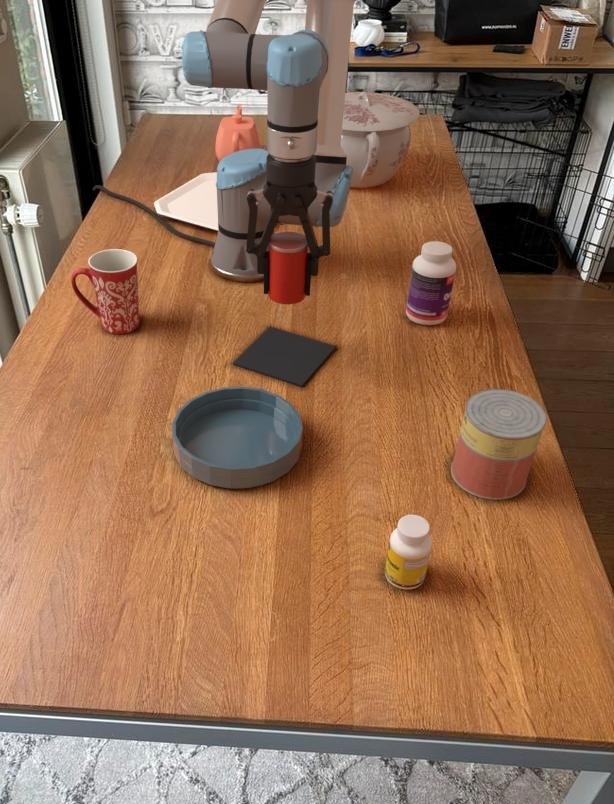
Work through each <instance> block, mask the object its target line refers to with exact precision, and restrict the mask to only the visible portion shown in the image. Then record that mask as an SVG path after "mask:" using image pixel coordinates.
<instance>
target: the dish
mask: <svg viewBox="0 0 614 804" xmlns="http://www.w3.org/2000/svg"><path fill="white" fill-rule="evenodd" d="M171 434H172V435H171V436H172V437H171V438H172V447H173V456H174V457H175V459H176V461H177V463H178V465H179V466H180V468H181V469H183V471H185V472H186V473H187V474H188V475H190V476H191V477H192V478H193V479H195V480H197V481H200V482H202V483H205V484H207V485H210V486H213V487H218V488H223V489H230V490H231V489H232V490H233V489H234V490H241V489H242V490H243V489H250V488H256V487H261V486H264V485H266V484H270V483H272V482H275V481H276V480H278V479H279V478H281V477H283V476H284V475H287V473H289V472H290V471H291V469H292V468H293V467H294V466H295V465H296V464H297V463H298V461H299V459H300V455H301V452H302V450H303V449H302V448H303V437H304V435H303V434H304V427H303V421H302V417H301V414H300V413H299V412H298V411H297V409H296V408H295V406H294V405H293V404H292V403H291V402H289V401H288V400H287V399H285V398H283V397H282V396H280V395H279V394H277V393H274V392H271V391H268V390H265V389H263V388H257V387H249V386H243V385H242V386H226V387H219V388H215V389H212V390H207V391H205V392H203V393H200V394H197V395H196V396H194V397H192V398H190V399H189V400H187V401H186V402H185V403H184V404H183V405H182V406H181V407H180V408H179V409H178V410H177V412H176V414H175V415H174V417H173V420H172V422H171Z"/></svg>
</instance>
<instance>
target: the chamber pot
mask: <svg viewBox="0 0 614 804" xmlns="http://www.w3.org/2000/svg"><path fill="white" fill-rule="evenodd" d="M420 116H421V113H420V109H419V108H418V107H417V106H416V105H415V104H414V103H412V102H410V101H408V100H407V99H404V98H401V97H399V96H394V95H391V94H386V93H379V92H372V91H351V92H350V91H349V92H345V102H344V112H343V123H342V133H341V144H340V146H341V148H342V150H343V151H344V152H345V154H346V155H347V162H346V166H347V165H350V166H351V167H352V168H353V175H352V179H351V185H350V188H353V189H366V188H373V187H377V186H381V185H383V184H385V183H388V182H389V181H391V179H392V178H393V177H394V175H395V174H396V173H397V171H398V170H399V169H400V167H401V166H402V165H403V163H404V162H405V160H406V158H407V155H408V153H409V149H410V147H411V140H412V132H411V127H410V125H412V124H414V123H416V122H417V120H418V119H419V118H420Z"/></svg>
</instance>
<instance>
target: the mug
mask: <svg viewBox="0 0 614 804" xmlns="http://www.w3.org/2000/svg"><path fill="white" fill-rule="evenodd" d="M138 259H139V258H138V256H137V254H135V253H134V252H132V251H130V250H127V249H121V248H109V249H104V250H100V251H97V252H95V253H93V254H92V255H91V256H90V257H89V258H88V261H87V263H88V266H89V268H88V267H78V268H76V269H74V270H73V272H72V273H71V276H70V277H71V278H70V281H71V288H72V290H73V292H74V294H75V295H76V298H77V299H79V301H80V302H81V303H82V304H83V305H84V306H85V307H86V308H87V309H88V310H90V312H92V313H93V314H94V315H95V316H96V317H98V318H99V319H100V323H101V327H102V329H103V330H104V331H105V332H108V333H110V334H114V335H123V334H128V333H131V332H134V331H135V330H136V329H138V327H139V326H140V303H139V302H140V301H139V278H138V262H139V260H138ZM80 275H84V276H86V277H87V278H88V279H89V281H90V283H91V285H93V288H94V293H95V298H96V303H97V305H95V304H93V303H92V302H91V301H89V299H88V298H87V297H86V296H85V295H84V294H83V293H82V292H81V291H80V289H79V287H78V285H77V282H76V280H77V277H78V276H80Z"/></svg>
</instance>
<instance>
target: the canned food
mask: <svg viewBox="0 0 614 804" xmlns="http://www.w3.org/2000/svg"><path fill="white" fill-rule="evenodd" d="M547 420H548V419H547V413H546V411H545V409H544V408H543V407H542V405H540V404H539V403H538V402H537V401H536V400H535V399H534V398H532V397H530V396H528V395H526V394H523V393H521V392H518V391H515V390H510V389H506V388H505V389H504V388H492V389H491V388H490V389H484V390H482V391H478V392H476V393H474V394H472V395H470V397H469V398H468V399H467V400H466V403H465V406H464V413H463V417H462V421H461V426H460V429H459V434H458V438H457V443H456V447H455V451H454V455H453V460H452V462H451V466H450V474H451V477H452V479H453V481H455V483H456V485H457V486H458V487H460V488H461V489H462V490H464V491H465V492H466V493H468V494H470V495H473V496H475V497H477V498H482V499H485V500H490V501H491V500H492V501H502V500H508V499H511V498H513V497H515V496H518V495H519V494H520V493H522V491H524V489H525V487H526V485H527V481H528V480H527V479H528V477H529V473H530V471H531V467H532V464H533V461H534V459H535V456H536V452H537V449H538V446H539V443H540V440H541V437H542V434H543V431H544V428H545V426H546V424H547Z"/></svg>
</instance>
